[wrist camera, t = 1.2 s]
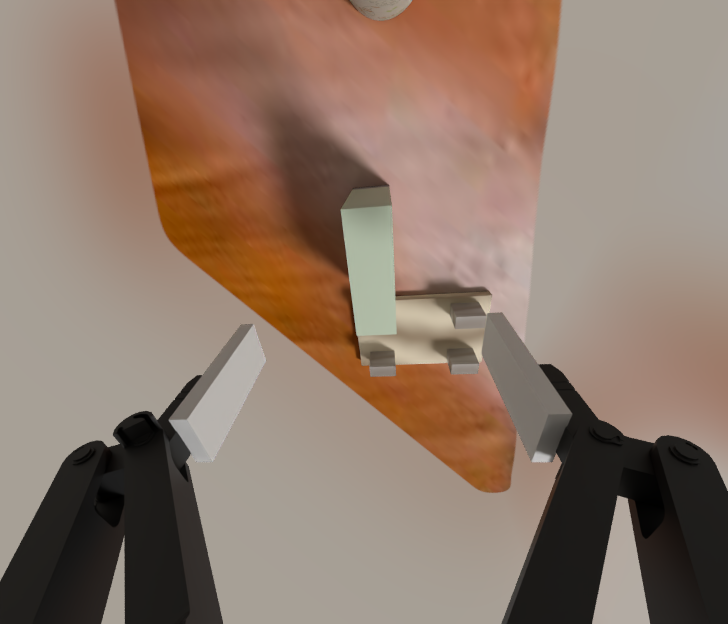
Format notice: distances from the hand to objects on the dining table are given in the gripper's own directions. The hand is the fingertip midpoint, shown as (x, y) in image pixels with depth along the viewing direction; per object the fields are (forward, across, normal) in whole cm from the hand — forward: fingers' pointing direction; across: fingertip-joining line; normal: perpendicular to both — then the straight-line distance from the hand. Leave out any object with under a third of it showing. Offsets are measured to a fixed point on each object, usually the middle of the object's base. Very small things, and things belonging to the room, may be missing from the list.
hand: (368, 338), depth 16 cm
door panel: (+18, 0, 0) cm, 18 cm away
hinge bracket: (+18, +5, -12) cm, 22 cm away
